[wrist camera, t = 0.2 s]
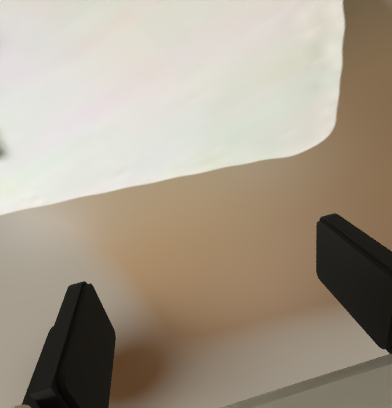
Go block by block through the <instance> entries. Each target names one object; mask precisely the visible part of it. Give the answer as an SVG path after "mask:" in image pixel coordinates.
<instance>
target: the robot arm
mask: <svg viewBox="0 0 392 408" xmlns="http://www.w3.org/2000/svg"><path fill="white" fill-rule="evenodd" d="M316 244H317V247H316V250H317V253H316V254H317V255H316V259H317V260H316V272H317V276H318V278H319V279H320V281H321V282H322V283H323V284H324V285H325V286H326V287H327V289H328V290H329V291H330V292H331V293H332V294H333V295H334V297H335V298H336V299H337V300H338V301H339V302H340V303H341V304H342V306H343V307H344V308H345V309H346V310H347V311H348V312H349V313H350V315H351V316H352V317H353V318H354V319H355V320H356V321H357V323H358V324H359V325H360V326H361V327H362V328H363V329H364V330H365V331H366V333H367V334H368V335H369V336H370V337H371V338H372V339H373V341H374V342H375V343H376V344H377V345H378V346H379V347H380V348H382V349H386V350H387V351H388V352H389V353H390V354H389V355H386V356H382V357H379V358H376V359H373V360H369V361H367V362H363V363H360V364H357V365H354V366H351V367H347V368H344V369H341V370H337V371H334V372H331V373H328V374H325V375H321V376H318V377H315V378H312V379H309V380H306V381H302V382H299V383H296V384H293V385H290V386H287V387H284V388H281V389H277V390H274V391H271V392H268V393H265V394H262V395H259V396H255V397H252V398H249V399H246V400H243V401H240V402H237V403H234V404H231V405H227V406H224V407H222V408H392V252H391V251H390V250H389V249H387V248H386V247H384V246H383V245H381V244H380V243H379V242H377V241H376V240H374V239H373V238H371V237H369V236H368V235H367V234H365V233H364V232H362V231H361V230H360V229H358V228H357V227H355V226H354V225H352V224H351V223H350V222H348V221H347V220H345V219H344V218H342V217H341V216H339V215H338V214H330V215H326V216H323V217H321V218H320V221H319V222H317V240H316ZM115 340H116V337H115V331H114V328H113V326H112V324H111V322H110V320H109V318H108V316H107V314H106V312H105V310H104V308H103V306H102V304H101V302H100V300H99V298H98V295H97V293H96V291H95V289H94V287H93V285H92V284H87V283H86V282H80V283H77V284H73V285H70V286H69V287H68V289H67V291H66V294H65V297H64V300H63V303H62V305H61V308H60V311H59V314H58V317H57V319H56V322H55V325H54V326H53V327H52V328H51V329H50V331H49V333H48V336H47V338H46V341H45V344H44V346H43V349H42V352H41V354H40V357H39V360H38V363H37V365H36V368H35V371H34V373H33V376H32V379H31V381H30V384H29V387H28V389H27V392H26V395H25V397H24V400H23V403H22V405H18V406H14V407H12V408H108V406H109V396H110V387H111V377H112V368H113V358H114V349H115Z"/></svg>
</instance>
